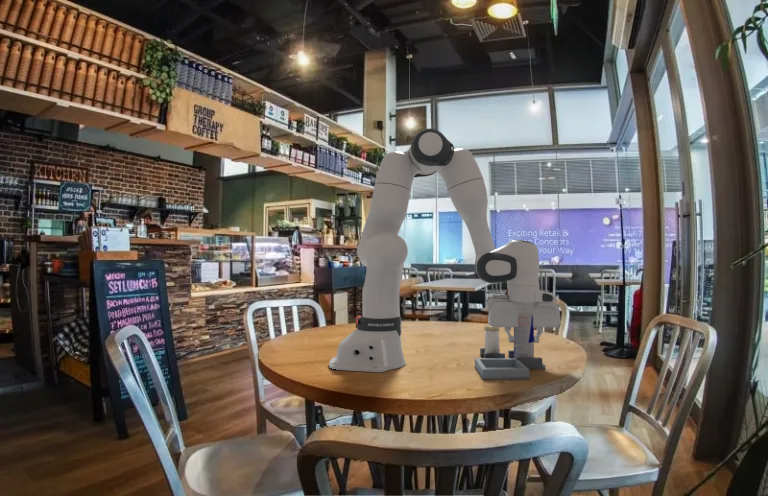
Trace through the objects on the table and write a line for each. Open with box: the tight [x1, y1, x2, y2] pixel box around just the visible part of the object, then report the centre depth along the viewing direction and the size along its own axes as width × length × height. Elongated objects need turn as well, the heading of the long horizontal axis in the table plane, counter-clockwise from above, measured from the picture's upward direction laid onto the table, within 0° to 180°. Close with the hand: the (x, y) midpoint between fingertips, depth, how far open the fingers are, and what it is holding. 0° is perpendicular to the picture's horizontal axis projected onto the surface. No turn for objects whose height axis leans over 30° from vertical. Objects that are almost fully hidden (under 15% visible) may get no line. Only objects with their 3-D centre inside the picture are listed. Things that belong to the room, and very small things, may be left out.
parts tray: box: [474, 357, 531, 380], centre depth 117 cm, size 12×12×2 cm
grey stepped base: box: [507, 349, 546, 370], centre depth 126 cm, size 8×10×3 cm
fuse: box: [483, 324, 501, 353], centre depth 133 cm, size 5×5×10 cm
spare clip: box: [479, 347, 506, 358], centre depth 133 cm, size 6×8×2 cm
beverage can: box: [513, 314, 535, 358], centre depth 126 cm, size 6×6×15 cm
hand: (523, 342), depth 126 cm, fingers closed on beverage can, 6 cm apart
